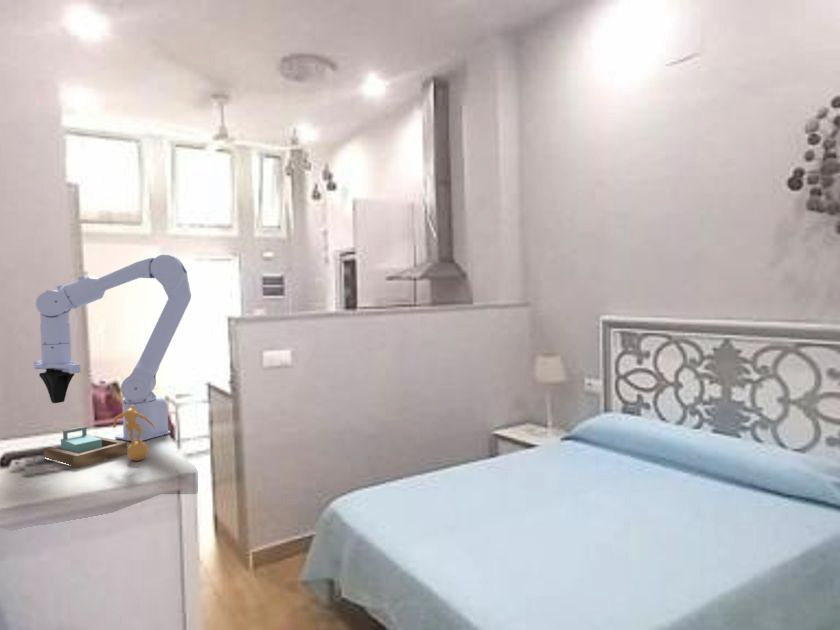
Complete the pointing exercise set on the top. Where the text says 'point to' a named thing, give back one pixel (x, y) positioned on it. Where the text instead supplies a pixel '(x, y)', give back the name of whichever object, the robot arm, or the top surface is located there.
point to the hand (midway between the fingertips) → (58, 402)
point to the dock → (88, 453)
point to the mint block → (80, 441)
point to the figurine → (137, 448)
